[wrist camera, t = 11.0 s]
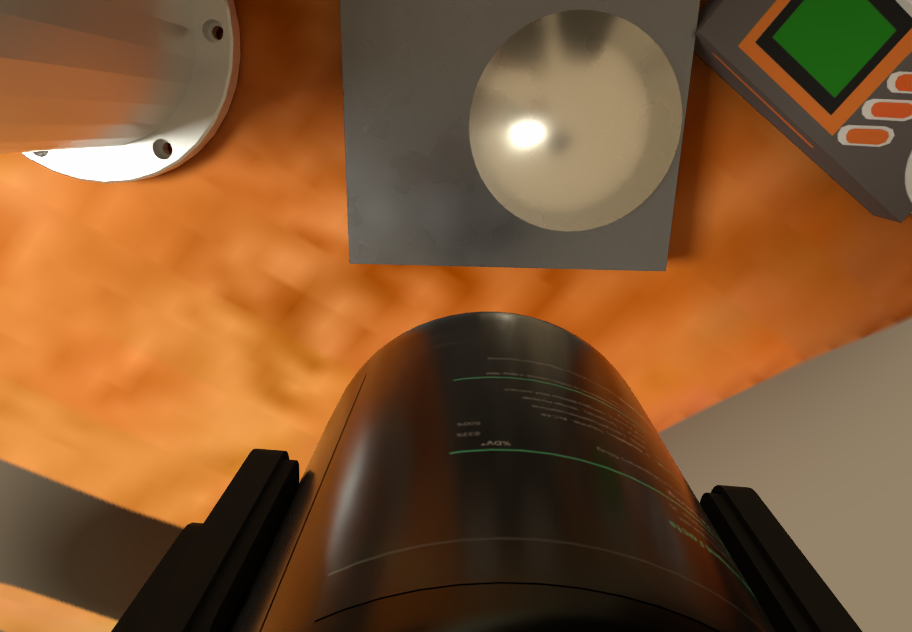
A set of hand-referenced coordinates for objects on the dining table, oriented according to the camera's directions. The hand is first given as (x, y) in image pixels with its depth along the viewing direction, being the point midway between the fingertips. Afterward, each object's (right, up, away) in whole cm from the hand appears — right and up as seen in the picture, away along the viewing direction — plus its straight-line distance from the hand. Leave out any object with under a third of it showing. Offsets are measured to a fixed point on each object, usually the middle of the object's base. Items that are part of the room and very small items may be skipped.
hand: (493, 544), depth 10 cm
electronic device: (+16, +14, +16) cm, 27 cm away
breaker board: (+2, +17, +15) cm, 23 cm away
